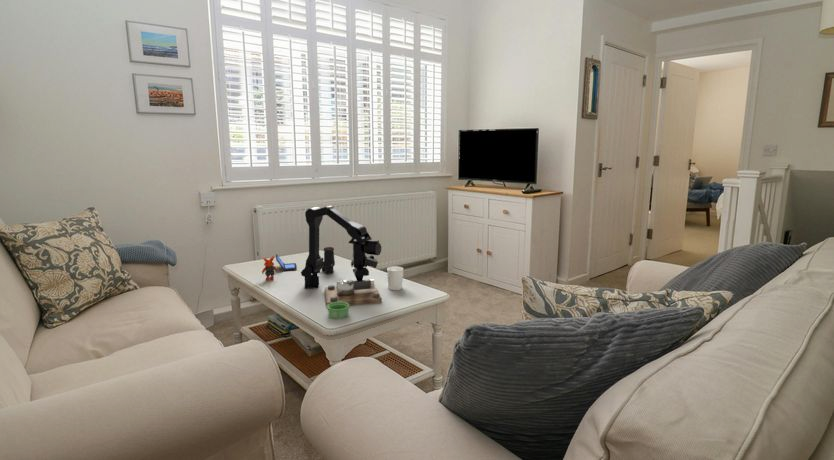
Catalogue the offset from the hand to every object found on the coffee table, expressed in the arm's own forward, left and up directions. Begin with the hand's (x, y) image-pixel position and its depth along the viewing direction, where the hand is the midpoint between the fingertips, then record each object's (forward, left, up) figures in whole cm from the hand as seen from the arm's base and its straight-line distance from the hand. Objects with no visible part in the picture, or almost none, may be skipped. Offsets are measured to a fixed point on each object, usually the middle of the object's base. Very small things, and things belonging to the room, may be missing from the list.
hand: (360, 285), depth 212 cm
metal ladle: (-3, -3, -2) cm, 4 cm away
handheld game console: (-35, +53, -5) cm, 63 cm away
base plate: (-4, -3, -5) cm, 7 cm away
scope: (-12, +39, -5) cm, 41 cm away
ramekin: (-12, -23, -5) cm, 27 cm away
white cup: (+18, +5, -5) cm, 19 cm away
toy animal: (-43, +34, -5) cm, 55 cm away
